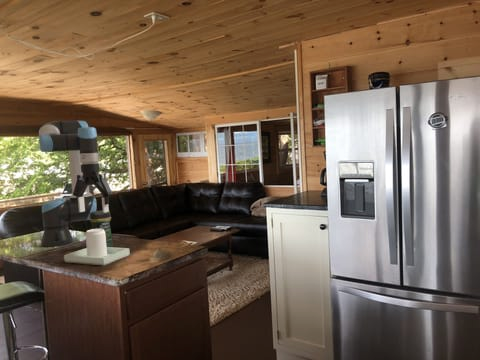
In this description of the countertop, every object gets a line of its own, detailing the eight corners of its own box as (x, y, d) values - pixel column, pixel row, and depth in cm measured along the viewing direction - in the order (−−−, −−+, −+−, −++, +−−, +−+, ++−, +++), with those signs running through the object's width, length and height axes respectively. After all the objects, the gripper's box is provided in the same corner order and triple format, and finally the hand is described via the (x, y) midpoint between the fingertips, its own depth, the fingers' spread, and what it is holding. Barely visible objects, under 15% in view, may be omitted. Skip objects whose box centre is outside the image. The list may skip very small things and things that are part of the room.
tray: (64, 262, 168) (64, 255, 168) (92, 252, 183) (91, 246, 183) (104, 265, 159) (103, 258, 159) (129, 255, 174) (129, 248, 174)
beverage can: (98, 260, 166) (96, 232, 165) (83, 259, 169) (81, 232, 168) (111, 255, 173) (108, 228, 172) (96, 254, 176) (94, 228, 175)
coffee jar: (96, 251, 184) (93, 212, 183) (89, 249, 190) (86, 211, 188) (115, 247, 191) (112, 209, 190) (108, 244, 197) (105, 208, 195)
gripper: (61, 164, 170) (65, 212, 171) (106, 162, 160) (110, 213, 161) (75, 163, 176) (79, 210, 178) (118, 161, 166) (122, 210, 168)
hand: (93, 212), depth 170 cm, fingers open, 13 cm apart
